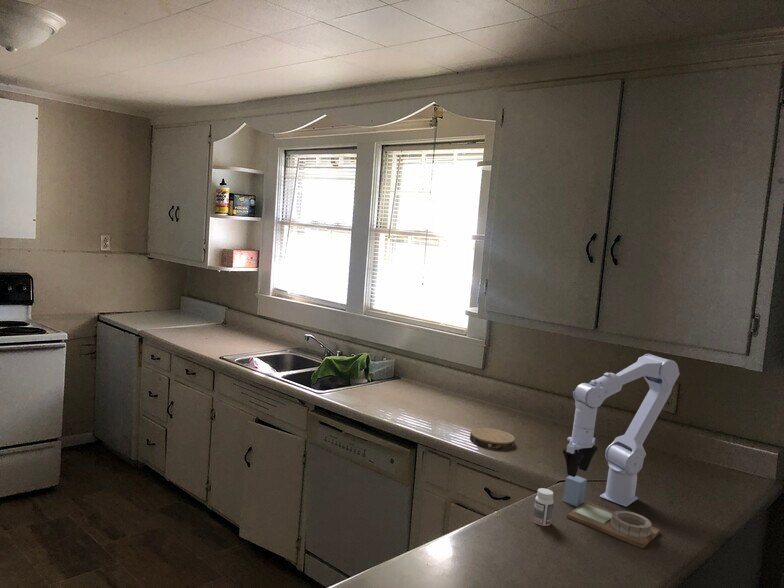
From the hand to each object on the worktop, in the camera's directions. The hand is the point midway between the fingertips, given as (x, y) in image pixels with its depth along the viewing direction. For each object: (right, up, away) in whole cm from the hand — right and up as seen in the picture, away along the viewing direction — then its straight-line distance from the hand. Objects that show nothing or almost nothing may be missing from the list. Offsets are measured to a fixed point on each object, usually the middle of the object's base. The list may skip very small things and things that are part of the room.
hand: (577, 472), depth 172 cm
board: (+6, -10, -12) cm, 17 cm away
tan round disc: (-17, -3, +47) cm, 50 cm away
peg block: (-1, -9, +1) cm, 9 cm away
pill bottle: (-14, -9, -15) cm, 22 cm away
